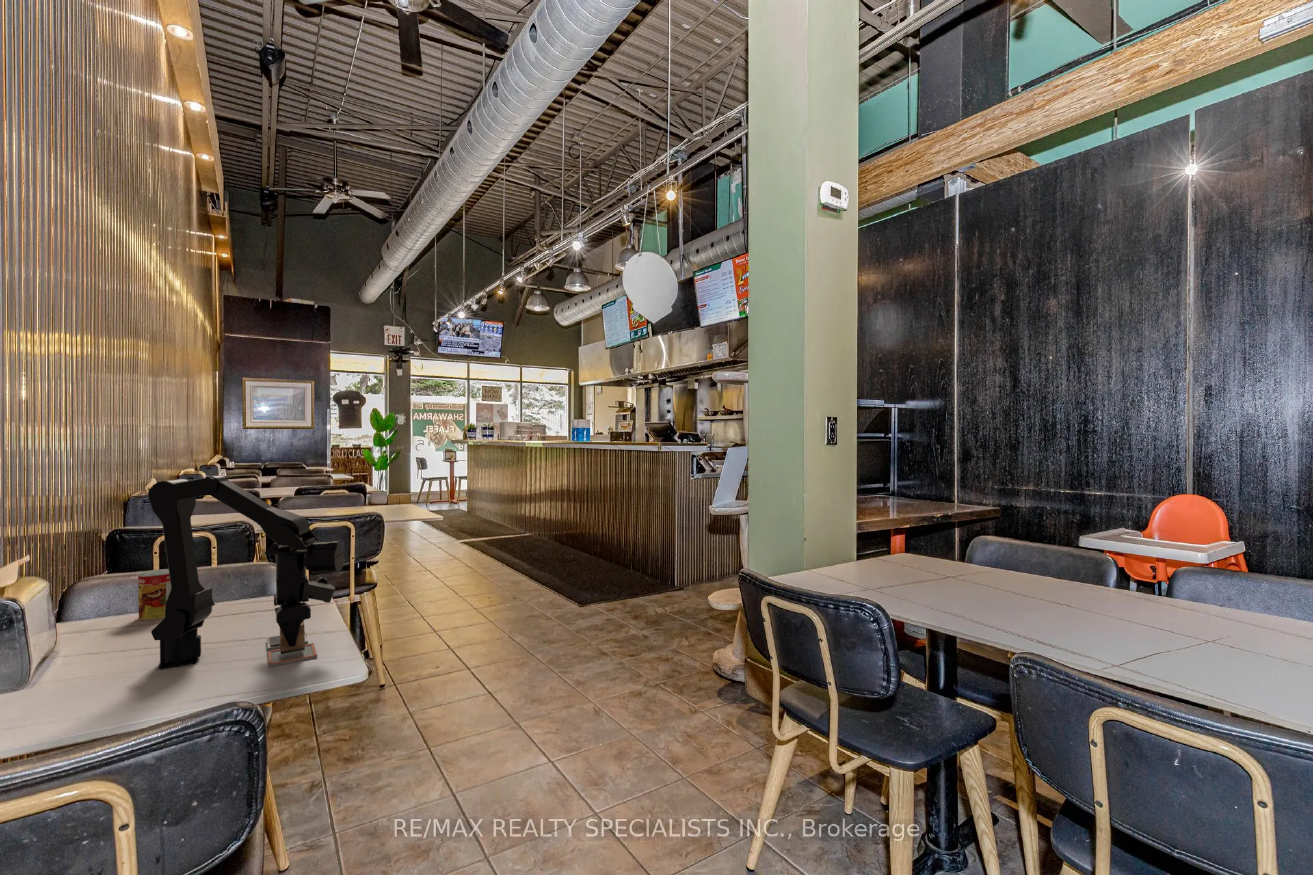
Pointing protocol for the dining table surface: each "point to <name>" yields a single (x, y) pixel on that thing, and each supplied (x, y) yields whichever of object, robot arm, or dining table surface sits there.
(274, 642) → the pad
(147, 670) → the dining table surface
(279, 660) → the tile
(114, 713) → the dining table surface
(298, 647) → the stamp
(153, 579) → the canned food
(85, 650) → the dining table surface
